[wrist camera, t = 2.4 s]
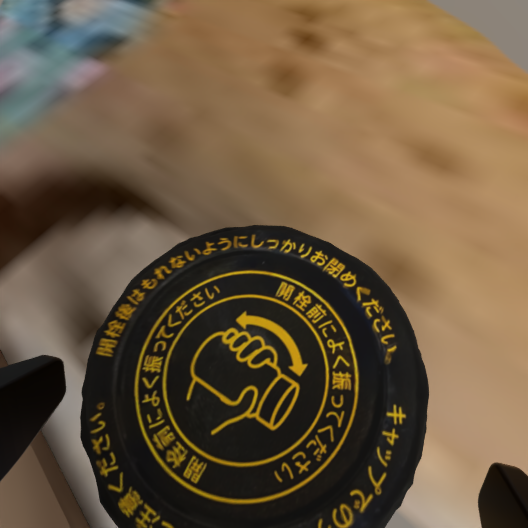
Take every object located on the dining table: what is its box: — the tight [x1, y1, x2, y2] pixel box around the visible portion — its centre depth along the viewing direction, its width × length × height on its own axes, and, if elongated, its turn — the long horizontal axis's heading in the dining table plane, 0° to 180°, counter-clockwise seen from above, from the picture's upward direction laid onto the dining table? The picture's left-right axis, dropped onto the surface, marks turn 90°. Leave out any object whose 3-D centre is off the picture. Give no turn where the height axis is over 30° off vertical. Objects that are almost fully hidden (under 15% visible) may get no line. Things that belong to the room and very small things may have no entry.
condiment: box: [80, 225, 429, 528], centre depth 11 cm, size 7×8×12 cm
